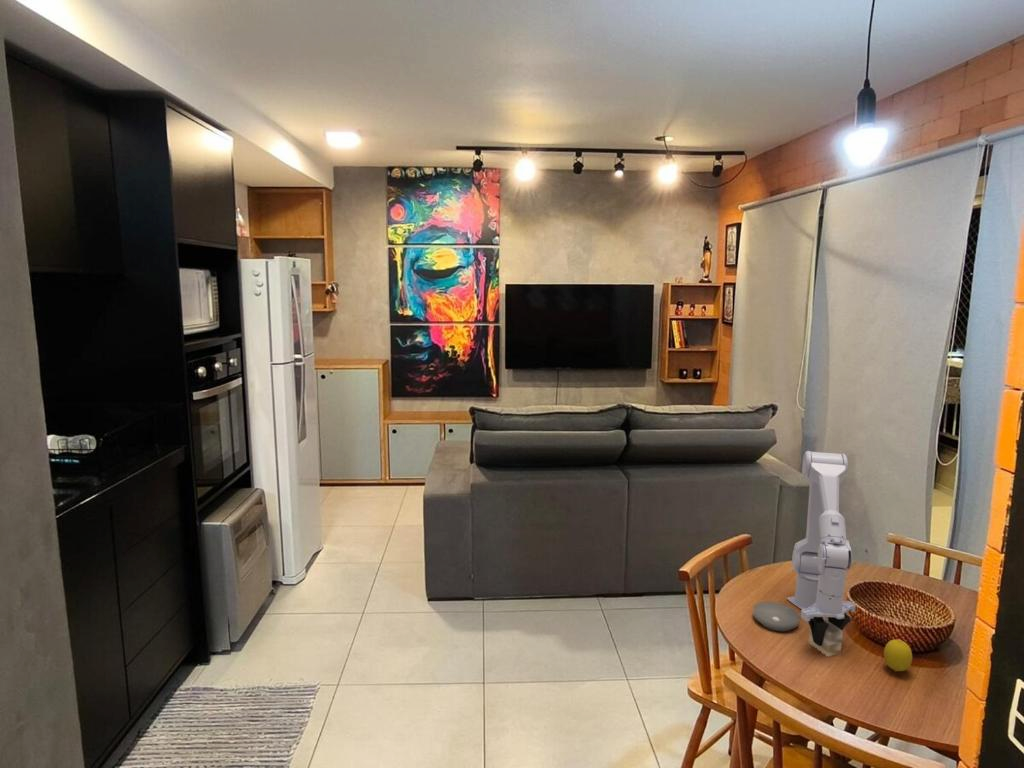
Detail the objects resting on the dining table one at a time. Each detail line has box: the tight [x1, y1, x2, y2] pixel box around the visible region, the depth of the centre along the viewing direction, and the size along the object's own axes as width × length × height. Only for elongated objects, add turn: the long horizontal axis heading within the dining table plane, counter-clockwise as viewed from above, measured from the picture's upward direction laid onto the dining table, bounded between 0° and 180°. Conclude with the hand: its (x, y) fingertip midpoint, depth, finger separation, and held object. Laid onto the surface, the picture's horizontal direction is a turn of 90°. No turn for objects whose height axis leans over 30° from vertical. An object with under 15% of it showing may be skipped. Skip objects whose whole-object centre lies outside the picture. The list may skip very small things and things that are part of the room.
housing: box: [808, 617, 844, 657], centre depth 151 cm, size 4×6×6 cm, turn 18°
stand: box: [752, 601, 800, 632], centre depth 162 cm, size 11×11×2 cm
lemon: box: [883, 638, 913, 673], centre depth 142 cm, size 6×6×8 cm
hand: (824, 641), depth 151 cm, fingers closed on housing, 4 cm apart
